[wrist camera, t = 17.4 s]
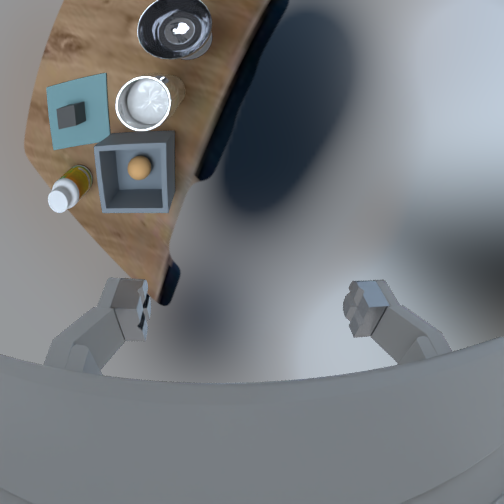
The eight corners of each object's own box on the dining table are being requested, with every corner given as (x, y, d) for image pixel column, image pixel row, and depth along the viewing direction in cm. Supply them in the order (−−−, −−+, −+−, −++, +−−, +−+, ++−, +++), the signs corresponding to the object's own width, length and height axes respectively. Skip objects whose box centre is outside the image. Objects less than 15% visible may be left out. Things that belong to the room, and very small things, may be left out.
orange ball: (130, 153, 43) (123, 160, 40) (153, 152, 44) (147, 159, 41) (132, 175, 46) (125, 184, 42) (154, 174, 46) (149, 183, 43)
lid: (49, 87, 34) (34, 90, 30) (107, 72, 36) (96, 74, 32) (56, 148, 41) (43, 157, 37) (112, 139, 43) (102, 147, 39)
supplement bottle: (78, 158, 43) (53, 179, 35) (98, 177, 46) (77, 201, 38) (64, 178, 45) (39, 202, 37) (83, 196, 47) (61, 222, 40)
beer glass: (137, 100, 39) (103, 116, 27) (161, 64, 36) (134, 63, 24) (172, 120, 42) (151, 144, 30) (197, 85, 39) (185, 93, 27)
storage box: (111, 133, 42) (93, 146, 35) (174, 130, 43) (166, 142, 37) (116, 191, 48) (102, 213, 41) (175, 191, 49) (168, 212, 43)
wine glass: (224, 27, 34) (225, 8, 22) (199, 69, 38) (189, 69, 25) (178, 10, 31) (159, -14, 19) (154, 52, 35) (124, 47, 23)
